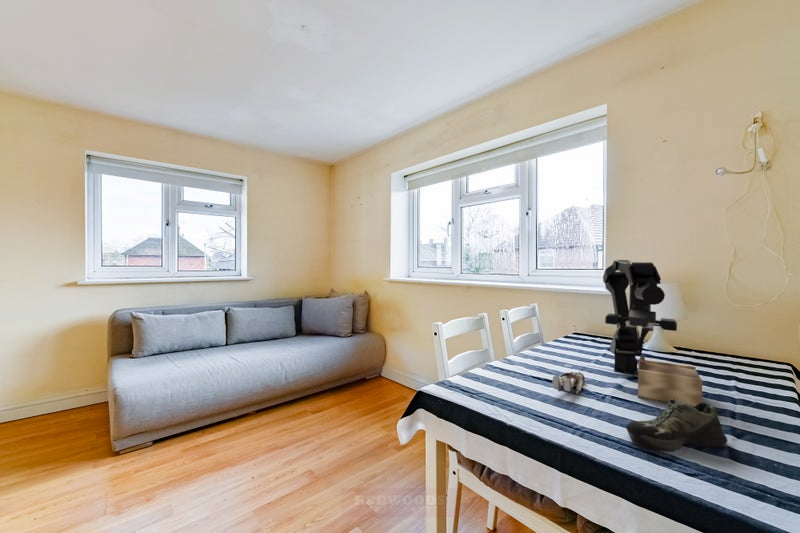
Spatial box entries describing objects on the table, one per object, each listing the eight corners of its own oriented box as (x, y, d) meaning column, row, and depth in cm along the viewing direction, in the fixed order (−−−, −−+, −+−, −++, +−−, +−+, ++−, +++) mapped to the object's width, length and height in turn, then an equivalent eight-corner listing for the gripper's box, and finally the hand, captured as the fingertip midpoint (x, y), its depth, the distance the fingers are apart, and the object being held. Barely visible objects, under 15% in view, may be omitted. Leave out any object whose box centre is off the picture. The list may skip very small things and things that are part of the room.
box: (638, 397, 97) (638, 369, 97) (638, 383, 109) (638, 358, 109) (701, 410, 89) (702, 379, 89) (694, 393, 100) (695, 366, 100)
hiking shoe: (614, 433, 77) (614, 394, 77) (696, 428, 80) (697, 390, 79) (644, 455, 69) (645, 410, 69) (735, 448, 71) (736, 405, 71)
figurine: (550, 374, 99) (570, 366, 113) (549, 393, 98) (569, 383, 113) (572, 379, 94) (590, 370, 109) (571, 399, 94) (590, 388, 109)
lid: (638, 373, 98) (638, 362, 98) (638, 363, 108) (638, 354, 108) (701, 383, 90) (701, 372, 90) (695, 372, 99) (695, 361, 99)
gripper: (603, 300, 108) (602, 348, 108) (678, 306, 96) (676, 359, 97) (607, 297, 117) (607, 341, 117) (676, 301, 105) (675, 350, 105)
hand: (639, 347), depth 109 cm, fingers closed
